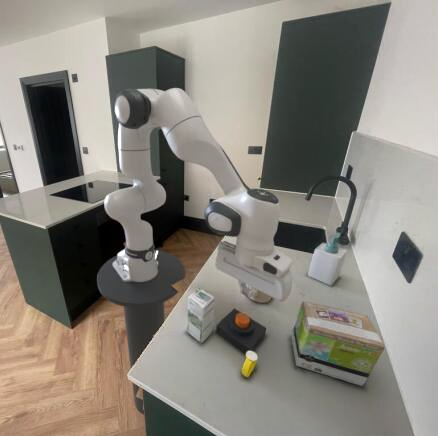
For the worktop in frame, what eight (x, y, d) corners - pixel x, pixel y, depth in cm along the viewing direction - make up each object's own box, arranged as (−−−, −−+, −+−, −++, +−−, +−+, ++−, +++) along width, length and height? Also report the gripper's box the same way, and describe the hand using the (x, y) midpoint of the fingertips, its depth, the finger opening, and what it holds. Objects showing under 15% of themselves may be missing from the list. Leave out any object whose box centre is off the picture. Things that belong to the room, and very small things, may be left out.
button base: (215, 332, 72) (216, 320, 70) (233, 315, 78) (234, 303, 76) (248, 357, 64) (250, 344, 62) (265, 335, 70) (267, 323, 68)
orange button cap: (232, 322, 69) (233, 317, 68) (239, 315, 72) (240, 310, 71) (244, 331, 66) (245, 325, 66) (251, 323, 69) (252, 318, 68)
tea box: (295, 368, 61) (308, 327, 55) (290, 336, 70) (301, 299, 64) (364, 388, 56) (387, 346, 50) (350, 352, 65) (367, 312, 59)
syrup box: (212, 332, 72) (215, 296, 66) (201, 344, 68) (203, 307, 62) (198, 322, 75) (199, 286, 70) (186, 333, 72) (187, 296, 66)
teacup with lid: (250, 283, 92) (254, 259, 88) (274, 293, 87) (280, 267, 82) (239, 300, 84) (243, 274, 79) (265, 312, 78) (270, 285, 74)
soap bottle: (338, 277, 95) (353, 236, 87) (331, 286, 90) (345, 243, 82) (315, 267, 101) (327, 228, 94) (307, 275, 96) (318, 235, 89)
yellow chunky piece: (248, 383, 58) (251, 368, 55) (238, 375, 59) (240, 360, 57) (258, 366, 61) (262, 351, 59) (248, 359, 63) (251, 344, 61)
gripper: (212, 242, 64) (209, 282, 70) (289, 275, 50) (278, 321, 56) (225, 235, 68) (221, 273, 74) (299, 263, 54) (288, 308, 60)
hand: (246, 294), depth 65 cm, fingers closed
